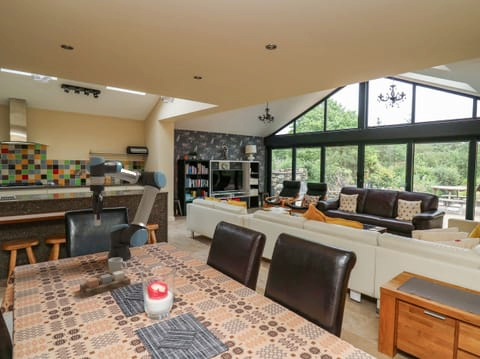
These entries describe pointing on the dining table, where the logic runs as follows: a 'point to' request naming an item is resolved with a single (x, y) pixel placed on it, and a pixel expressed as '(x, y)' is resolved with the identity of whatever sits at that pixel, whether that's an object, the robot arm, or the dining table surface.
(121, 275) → the cream key
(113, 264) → the cup
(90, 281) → the terracotta key
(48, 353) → the dining table surface
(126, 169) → the robot arm
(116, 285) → the key block
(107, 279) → the slate key
